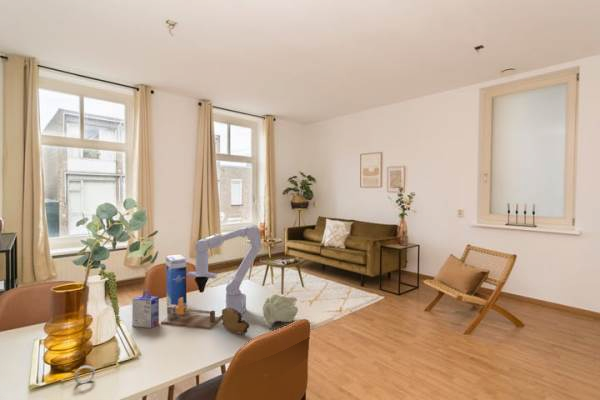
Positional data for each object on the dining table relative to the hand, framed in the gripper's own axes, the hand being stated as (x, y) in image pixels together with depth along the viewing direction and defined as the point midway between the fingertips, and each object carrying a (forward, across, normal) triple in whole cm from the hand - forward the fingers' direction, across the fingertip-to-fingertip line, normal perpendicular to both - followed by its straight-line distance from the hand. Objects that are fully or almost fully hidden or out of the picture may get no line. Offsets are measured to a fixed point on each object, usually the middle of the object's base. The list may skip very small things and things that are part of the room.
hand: (201, 291), depth 147 cm
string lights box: (+11, -17, +4) cm, 20 cm away
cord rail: (+10, 0, -10) cm, 14 cm away
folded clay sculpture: (+10, +40, -2) cm, 41 cm away
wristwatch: (+11, -9, -56) cm, 58 cm away
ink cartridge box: (+11, -18, -17) cm, 27 cm away
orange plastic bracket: (+7, -5, -10) cm, 13 cm away
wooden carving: (+10, +23, -15) cm, 30 cm away
